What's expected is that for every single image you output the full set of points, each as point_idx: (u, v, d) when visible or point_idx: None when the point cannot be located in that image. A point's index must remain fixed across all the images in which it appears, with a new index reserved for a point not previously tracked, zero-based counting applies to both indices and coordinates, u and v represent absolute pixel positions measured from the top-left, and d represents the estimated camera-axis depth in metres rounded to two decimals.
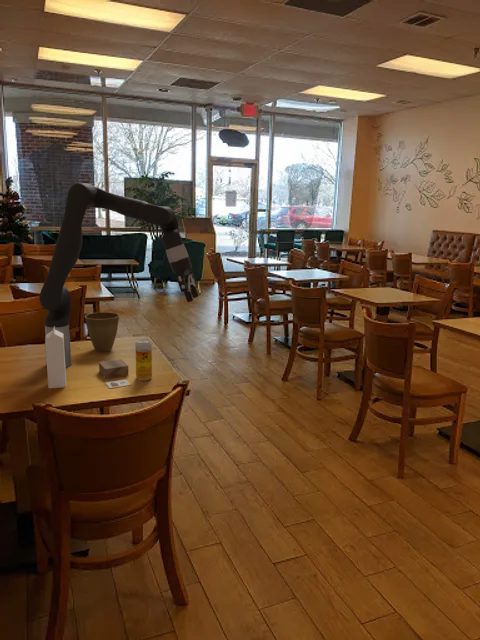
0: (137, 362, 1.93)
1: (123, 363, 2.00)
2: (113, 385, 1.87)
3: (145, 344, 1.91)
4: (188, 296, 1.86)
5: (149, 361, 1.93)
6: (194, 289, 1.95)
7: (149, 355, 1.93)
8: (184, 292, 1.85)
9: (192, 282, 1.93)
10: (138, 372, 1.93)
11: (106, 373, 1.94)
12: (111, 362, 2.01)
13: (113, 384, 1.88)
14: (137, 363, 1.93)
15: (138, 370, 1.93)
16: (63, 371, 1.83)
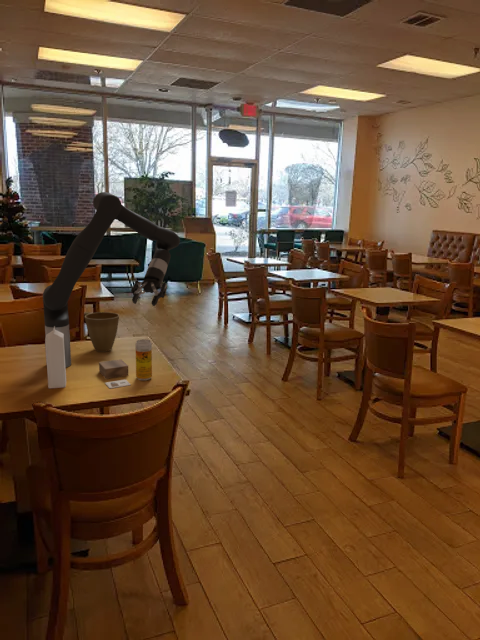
0: (137, 362, 1.93)
1: (123, 363, 2.00)
2: (113, 385, 1.87)
3: (145, 344, 1.91)
4: (157, 300, 2.04)
5: (149, 361, 1.93)
6: (137, 297, 2.07)
7: (149, 355, 1.93)
8: (158, 296, 2.04)
9: (143, 292, 2.09)
10: (138, 372, 1.93)
11: (106, 373, 1.94)
12: (111, 362, 2.01)
13: (113, 384, 1.88)
14: (137, 363, 1.93)
15: (138, 370, 1.93)
16: (63, 371, 1.83)
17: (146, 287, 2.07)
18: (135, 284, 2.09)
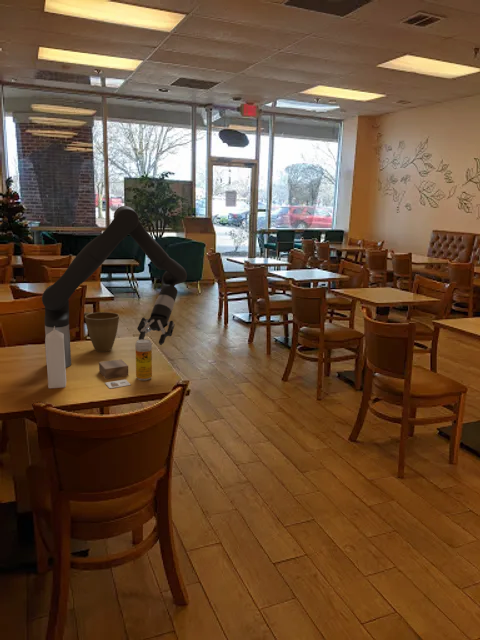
0: (137, 362, 1.93)
1: (123, 363, 2.00)
2: (113, 385, 1.87)
3: (145, 344, 1.91)
4: (164, 339, 1.98)
5: (149, 361, 1.93)
6: (144, 335, 2.02)
7: (149, 355, 1.93)
8: (165, 334, 1.98)
9: (149, 330, 2.03)
10: (138, 372, 1.93)
11: (106, 373, 1.94)
12: (111, 362, 2.01)
13: (113, 384, 1.88)
14: (137, 363, 1.93)
15: (138, 370, 1.93)
16: (63, 371, 1.83)
17: (153, 325, 2.01)
18: (141, 322, 2.03)
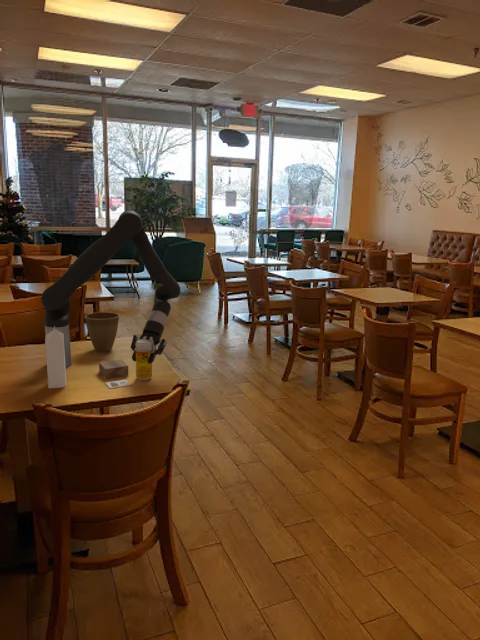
0: (137, 362, 1.93)
1: (123, 363, 2.00)
2: (113, 385, 1.87)
3: (145, 344, 1.91)
4: (153, 358, 1.93)
5: None
6: None
7: (149, 355, 1.93)
8: (155, 353, 1.93)
9: None
10: (138, 372, 1.93)
11: (106, 373, 1.94)
12: (111, 362, 2.01)
13: (113, 384, 1.88)
14: (137, 363, 1.93)
15: (138, 370, 1.93)
16: (63, 371, 1.83)
17: None
18: (134, 340, 1.98)
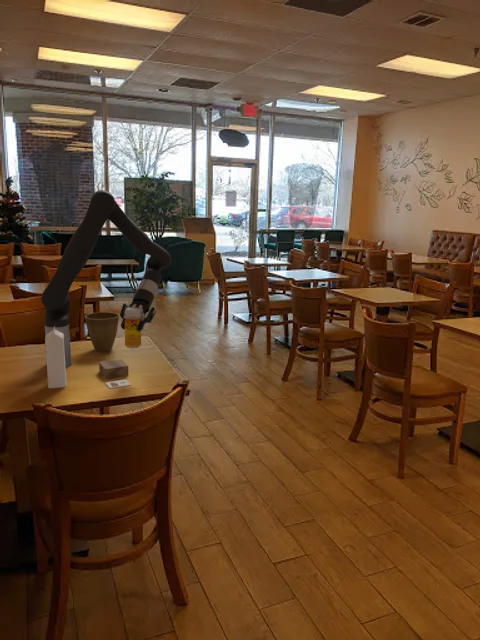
0: (126, 330, 1.91)
1: (123, 363, 2.00)
2: (113, 385, 1.87)
3: (134, 311, 1.89)
4: (143, 326, 1.91)
5: None
6: None
7: None
8: (144, 321, 1.91)
9: None
10: (127, 340, 1.91)
11: (106, 373, 1.94)
12: (111, 362, 2.01)
13: (113, 384, 1.88)
14: (126, 331, 1.91)
15: (127, 338, 1.91)
16: (63, 371, 1.83)
17: None
18: (123, 308, 1.96)
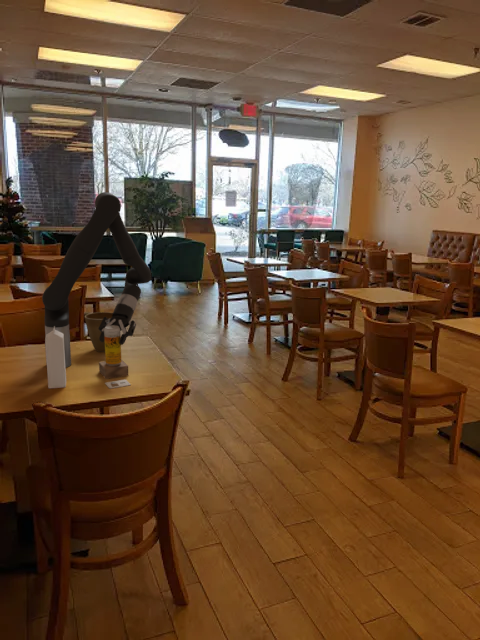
0: (106, 348, 1.96)
1: (123, 363, 2.00)
2: (113, 385, 1.87)
3: (113, 330, 1.93)
4: (125, 339, 1.96)
5: (118, 347, 1.96)
6: None
7: (118, 341, 1.96)
8: (126, 334, 1.96)
9: None
10: (107, 358, 1.96)
11: (106, 373, 1.94)
12: None
13: (113, 384, 1.88)
14: (106, 349, 1.96)
15: (107, 356, 1.96)
16: (63, 371, 1.83)
17: None
18: (103, 321, 2.01)
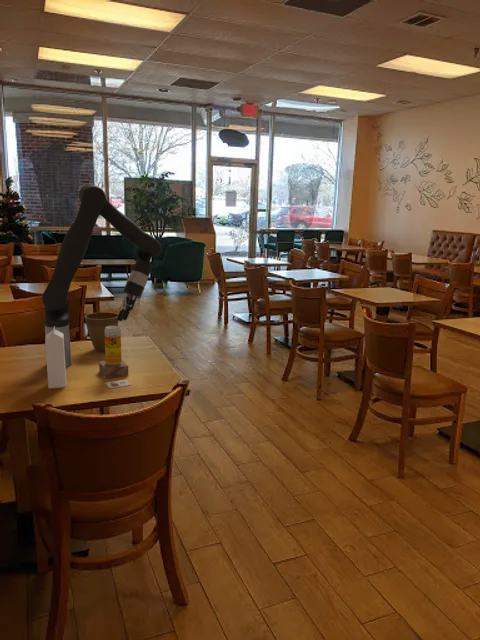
0: (106, 348, 1.96)
1: (123, 363, 2.00)
2: (113, 385, 1.87)
3: (114, 330, 1.94)
4: (126, 314, 2.01)
5: (118, 347, 1.96)
6: (123, 314, 2.10)
7: (118, 341, 1.96)
8: (126, 309, 2.01)
9: None
10: (107, 357, 1.96)
11: (106, 373, 1.94)
12: None
13: (113, 384, 1.88)
14: (106, 349, 1.96)
15: (107, 355, 1.96)
16: (63, 371, 1.83)
17: (124, 303, 2.07)
18: None
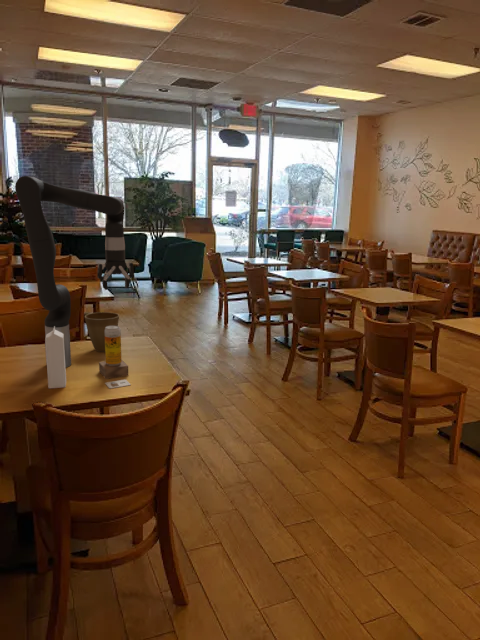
0: (106, 348, 1.96)
1: (123, 363, 2.00)
2: (113, 385, 1.87)
3: (114, 330, 1.94)
4: (103, 284, 2.00)
5: (118, 347, 1.96)
6: (126, 280, 2.04)
7: (118, 341, 1.96)
8: None
9: (123, 274, 2.02)
10: (107, 357, 1.96)
11: (106, 373, 1.94)
12: None
13: (113, 384, 1.88)
14: (106, 349, 1.96)
15: (107, 355, 1.96)
16: (63, 371, 1.83)
17: None
18: None
